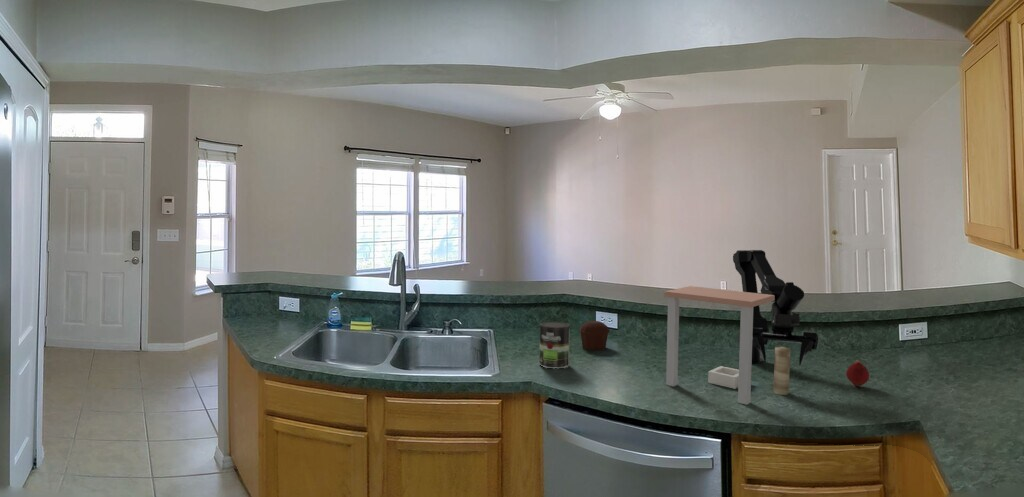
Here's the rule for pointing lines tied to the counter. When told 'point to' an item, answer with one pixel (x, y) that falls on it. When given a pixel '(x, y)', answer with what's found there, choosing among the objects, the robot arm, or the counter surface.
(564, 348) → the coffee can
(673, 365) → the pink topped table
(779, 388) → the peg
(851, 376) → the onion
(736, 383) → the socket
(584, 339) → the muffin
